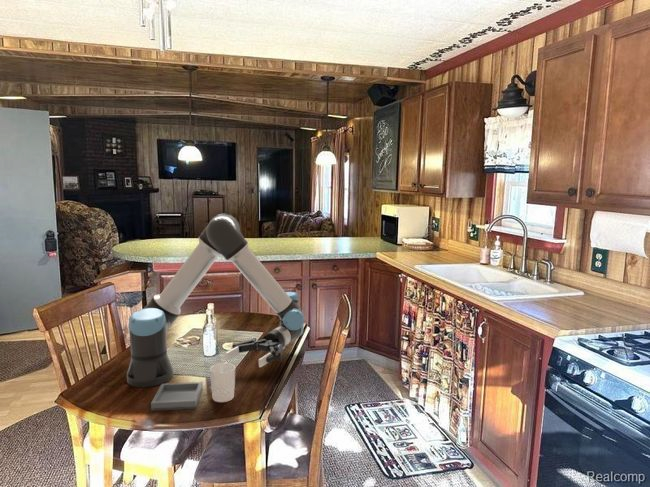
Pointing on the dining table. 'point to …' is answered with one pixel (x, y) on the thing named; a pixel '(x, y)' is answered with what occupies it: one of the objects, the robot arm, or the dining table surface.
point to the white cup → (222, 381)
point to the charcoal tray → (177, 396)
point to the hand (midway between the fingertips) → (242, 360)
